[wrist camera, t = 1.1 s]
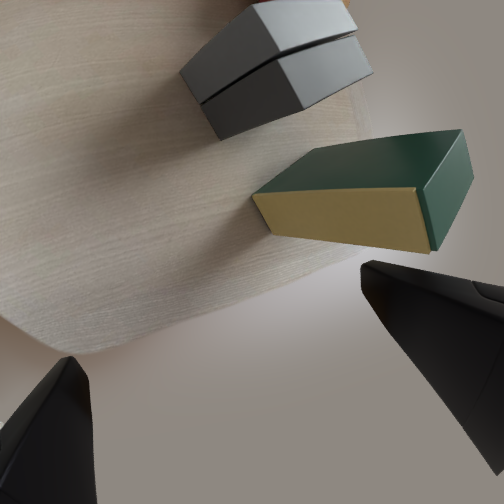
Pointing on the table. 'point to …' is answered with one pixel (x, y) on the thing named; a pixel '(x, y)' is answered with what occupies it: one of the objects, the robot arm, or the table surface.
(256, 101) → the grey grooved block
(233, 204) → the table surface
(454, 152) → the green book
